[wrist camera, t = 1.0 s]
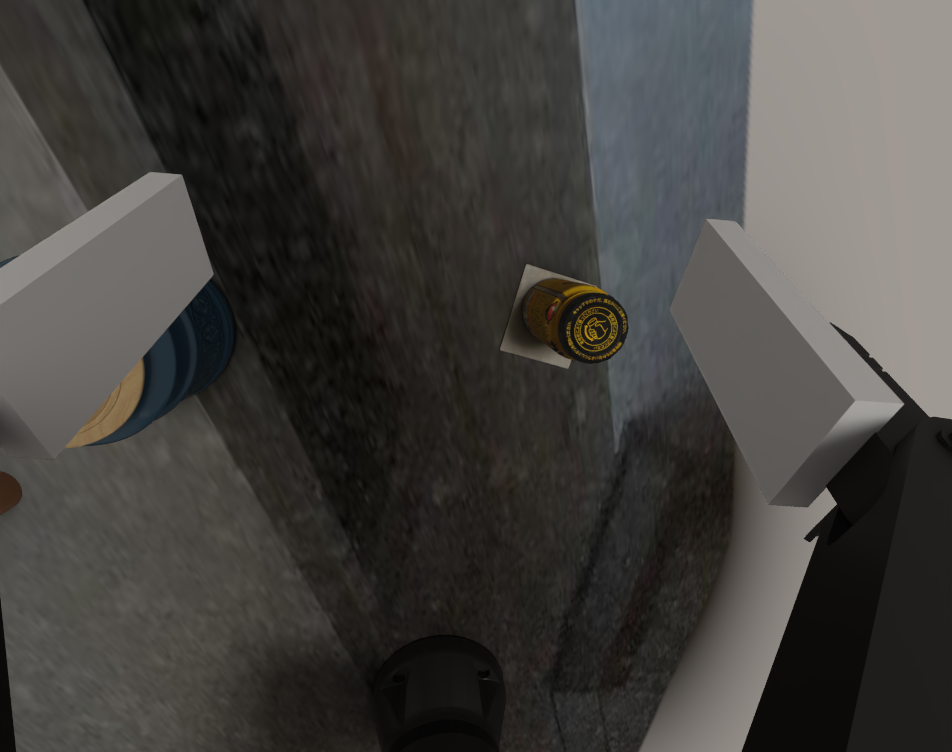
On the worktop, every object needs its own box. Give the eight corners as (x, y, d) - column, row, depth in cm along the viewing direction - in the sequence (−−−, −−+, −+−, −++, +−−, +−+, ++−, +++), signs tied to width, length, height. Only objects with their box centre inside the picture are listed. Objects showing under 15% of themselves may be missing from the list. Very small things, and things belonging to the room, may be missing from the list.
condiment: (596, 286, 46) (654, 298, 35) (567, 368, 48) (614, 406, 37) (525, 263, 45) (562, 269, 33) (498, 349, 47) (524, 382, 35)
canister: (236, 403, 45) (127, 496, 28) (85, 386, 43) (-130, 476, 26) (242, 263, 42) (122, 273, 25) (78, 238, 40) (-170, 232, 23)
